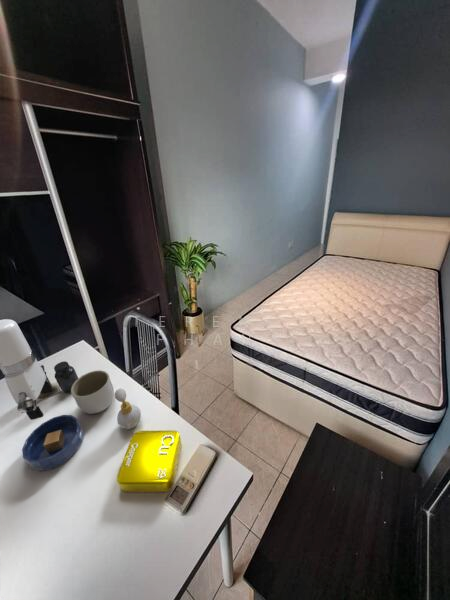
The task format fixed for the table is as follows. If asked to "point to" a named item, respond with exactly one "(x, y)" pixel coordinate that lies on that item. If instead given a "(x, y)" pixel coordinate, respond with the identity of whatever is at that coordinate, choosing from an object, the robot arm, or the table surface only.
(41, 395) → the condiment
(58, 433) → the block
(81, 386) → the planter
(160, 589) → the table surface
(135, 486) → the element tile
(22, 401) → the robot arm
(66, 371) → the supplement bottle
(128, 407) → the perfume bottle
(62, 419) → the bowl
